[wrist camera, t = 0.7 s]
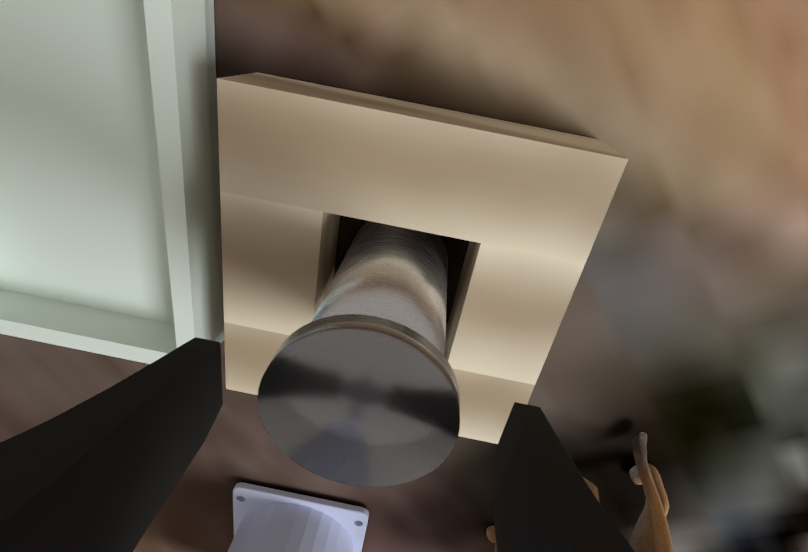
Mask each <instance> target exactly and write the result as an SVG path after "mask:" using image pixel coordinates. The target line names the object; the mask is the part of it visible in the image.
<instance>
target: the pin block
mask: <svg viewBox="0 0 808 552" xmlns="http://www.w3.org/2000/svg"><path fill="white" fill-rule="evenodd" d="M217 105H218V138H219V171H220V204H221V237H222V270H223V303H224V336H225V369H226V389H230V390H235V391H240V392H245V393H250V394H255V395H258V389H259V385H260V382H261V379H262V377H263V375H264V373H265V371H266V369H267V367H268V366H269V364H270V362H271V361H272V359H273V357H274V355H275V354H276V352H277V350H278V349H279V347H280V346H281V345H282V343H283V342H284V341H285V340H286V339H287V338H288V337H289V336H290V335H291V334H292V333H293V332H295V331H296V330H298V329H299V328H300V327H302V326H304V325H306V324H308V323H310V322H311V321H312V319H313V317H314V315H315V313H316V311H317V309H318V307H319V305H320V303H321V301H322V300H323V298H324V296H325V294H326V292H327V290H328V288H329V286H330V284H331V282H332V280H333V278H334V269H335V260H336V251H337V242H338V232H339V223H340V215H341V216H347V217H352V218H357V219H362V220H367V221H372V222H377V223H382V224H387V225H392V226H397V227H402V228H407V229H412V230H417V231H422V232H427V233H432V234H437V235H442V236H447V237H452V238H457V239H462V240H467V241H469V244H468V248H467V252H466V255H465V259H464V263H463V267H462V270H461V274H460V278H459V282H458V286H457V289H456V293H455V297H454V301H453V304H452V308H451V312H450V316H449V320H448V323H446V332H445V358H446V360H447V361H448V362H449V364H450V365H451V367H452V369H453V372H454V374H455V376H456V379H457V382H458V386H459V394H460V430H459V434H458V436H460V437H465V438H470V439H475V440H480V441H485V442H490V443H495V444H498V442H499V440H500V437H501V435H502V432H503V430H504V427H505V425H506V422H507V420H508V417H509V415H510V412H511V410H512V407H513V405H514V402H517V403H522V404H526V405H527V403H528V401H529V398H530V396H531V393H532V391H533V389H534V386H535V384H536V381H537V379H538V377H539V374H540V372H541V369H542V367H543V364H544V362H545V360H546V357H547V355H548V352H549V350H550V348H551V345H552V343H553V340H554V338H555V335H556V333H557V331H558V328H559V326H560V323H561V321H562V318H563V316H564V314H565V311H566V309H567V306H568V304H569V302H570V299H571V297H572V294H573V292H574V289H575V287H576V285H577V282H578V280H579V277H580V275H581V273H582V270H583V268H584V265H585V263H586V260H587V258H588V256H589V253H590V251H591V248H592V246H593V244H594V241H595V239H596V236H597V234H598V231H599V229H600V227H601V224H602V222H603V219H604V217H605V214H606V212H607V210H608V207H609V205H610V202H611V200H612V198H613V195H614V193H615V190H616V188H617V185H618V183H619V181H620V178H621V176H622V173H623V171H624V169H625V166H626V164H627V161H628V159H627V158H626V157H624V156H623V155H621V154H620V153H618V152H617V151H615V150H614V149H612V148H611V147H609V146H608V145H606V144H605V143H603V142H602V141H600V140H599V139H595V138H590V137H585V136H580V135H574V134H569V133H564V132H559V131H554V130H549V129H544V128H539V127H534V126H529V125H524V124H518V123H513V122H508V121H503V120H498V119H493V118H488V117H483V116H478V115H473V114H468V113H462V112H457V111H452V110H447V109H442V108H437V107H432V106H427V105H422V104H417V103H412V102H406V101H401V100H396V99H391V98H386V97H381V96H376V95H371V94H366V93H361V92H356V91H350V90H345V89H340V88H335V87H330V86H325V85H320V84H315V83H310V82H305V81H300V80H294V79H289V78H284V77H279V76H274V75H269V74H264V73H259V72H256V73H249V74H243V75H236V76H229V77H222V78H217Z"/></svg>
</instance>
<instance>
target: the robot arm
mask: <svg viewBox="0 0 808 552" xmlns="http://www.w3.org/2000/svg"><path fill="white" fill-rule="evenodd" d="M222 404H223V402H222V376H221V350H220V342H217V341H212V340H207V339H202V338H197V337H195V338H193V339H192V340H190V341H188V342H186V343H185V344H183V345H181V346H180V347H178V348H176V349H175V350H173V351H171V352H170V353H168V354H166V355H165V356H163V357H161V358H160V359H158V360H156V361H155V362H153V363H151V364H150V365H148V366H146V367H145V368H143V369H141V370H140V371H138V372H136V373H134V374H133V375H131V376H129V377H128V378H126V379H124V380H122V381H121V382H119V383H117V384H116V385H114V386H112V387H110V388H109V389H107V390H105V391H103V392H101V393H99V394H97V395H96V396H94V397H92V398H90V399H88V400H86V401H84V402H83V403H81V404H79V405H77V406H75V407H73V408H71V409H69V410H68V411H66V412H64V413H62V414H60V415H58V416H56V417H54V418H52V419H50V420H48V421H46V422H44V423H42V424H40V425H38V426H36V427H34V428H32V429H30V430H28V431H25V432H23V433H21V434H19V435H17V436H14V437H12V438H10V439H8V440H6V441H3V442H1V443H0V552H133V550H134V549H135V547H136V545H137V544H138V542H139V541H140V539H141V537H142V536H143V534H144V532H145V531H146V529H147V528H148V526H149V525H150V523H151V522H152V520H153V519H154V517H155V516H156V514H157V513H158V511H159V510H160V508H161V507H162V505H163V504H164V502H165V501H166V499H167V498H168V496H169V495H170V493H171V492H172V490H173V489H174V487H175V485H176V484H177V482H178V481H179V479H180V478H181V476H182V475H183V473H184V472H185V470H186V469H187V467H188V466H189V464H190V463H191V461H192V460H193V458H194V457H195V455H196V453H197V452H198V450H199V449H200V447H201V446H202V444H203V443H204V441H205V439H206V437H207V435H208V433H209V431H210V429H211V427H212V425H213V423H214V421H215V419H216V417H217V415H218V413H219V411H220V408H221V406H222ZM492 508H493V518H494V527H495V536H496V544H497V552H635V551H634V550H633V548H632V547H631V546H630V544H629V543H628V542H627V541H626V539H625V538H624V536H623V535H622V534H621V532H620V531H619V530H618V528H617V527H616V525H615V524H614V523H613V521H612V520H611V518H610V517H609V516H608V514H607V513H606V511H605V510H604V509H603V507H602V506H601V504H600V503H599V501H598V500H597V498H596V497H595V495H594V494H593V492H592V491H591V489H590V488H589V486H588V485H587V483H586V481H585V480H584V478H583V477H582V475H581V474H580V472H579V471H578V469H577V468H576V466H575V464H574V463H573V461H572V460H571V458H570V456H569V455H568V453H567V451H566V450H565V448H564V446H563V445H562V443H561V442H560V440H559V438H558V437H557V435H556V433H555V432H554V430H553V428H552V427H551V425H550V423H549V422H548V420H547V418H546V417H545V415H544V413H543V412H542V410H541V409H540V407H536V406H531V405H526V404H522V403H517V402H514V405H513V407H512V410H511V412H510V415H509V417H508V420H507V422H506V425H505V427H504V430H503V432H502V435H501V437H500V440H499V442H498V445H497V448H496V450H495V453H494V455H493V458H492ZM368 518H369V511H368V510H367V509H366V508H363V507H360V506H355V505H350V504H345V503H340V502H335V501H331V500H326V499H321V498H316V497H311V496H306V495H301V494H297V493H292V492H287V491H282V490H277V489H272V488H267V487H263V486H258V485H253V484H248V483H242V482H240V483H237V484H236V485H235V487H234V489H233V525H234V538H233V541H232V543H231V545H230V547H229V549H228V552H361V551H362V546H363V541H364V537H365V532H366V527H367V523H368Z"/></svg>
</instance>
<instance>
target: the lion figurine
mask: <svg viewBox="0 0 808 552" xmlns="http://www.w3.org/2000/svg"><path fill="white" fill-rule="evenodd" d="M646 443H647V434H646V433H645V432H640V433H639V434H638V435H637V436H635V437H634V438H633V441H632V444H633V455H634V458H635V464H636V465H635V466H633V467H632V468H631V469H630V471H629V473H630V476H631V479H632V481H633V482H634V483H635V484H637V485H641V484H642V485H643V488H644V492H645V496H646V502H645V507H644V509H643V511H642V513H641V515H640V517H639V519H638V521H637V523H636V525H635V528H634V530H633V532H632V535H631V538H630V540H629V544H630V546H631V547H632V548H633V550H634V551H635V552H673V547H672V541H671V536H670V531H669V527H668V523H667V519H666V515H667V513H668V510H669V501H668V498H667V494H666V492H665V489H664V486H663V483H662V480H661V477H660V475H659V472H658V470H657V469H656V468H655V467H654V466H653V465H651V464H648V462H647V449H646ZM583 478H584V477H583ZM584 480H585V481H586V483H587V485H588V486H589V488H590V489H591V491H592V492H593V494H594V495H595V497H596V498H597V500H598V501H599V495H598V489H597V487H596V486H595V485H594V484H592V483H591V482H589V481H588V480H586V479H585V478H584ZM599 503H600V502H599ZM486 534H487V537H488V538H489V539H490V541H491V542H492V543H495V551H494V552H497V544H496V536H495V527H494V526H489V527H488V528H487V529H486Z"/></svg>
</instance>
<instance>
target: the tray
mask: <svg viewBox="0 0 808 552" xmlns="http://www.w3.org/2000/svg"><path fill="white" fill-rule="evenodd" d="M0 334H5V335H10V336H15V337H20V338H25V339H30V340H35V341H40V342H44V343H49V344H54V345H59V346H64V347H69V348H74V349H79V350H84V351H89V352H93V353H98V354H103V355H108V356H113V357H118V358H123V359H128V360H133V361H138V362H143V363H147V364H151V363H153V362H155V361H156V360H158V359H160V358H161V357H163V356H165V355H166V354H168V353H170V352H171V351H173V350H175V349H176V348H178V347H180V346H181V345H183V344H185V343H186V342H188V341H190V340H192V339H193V338H195V337H197V338H202V339H207V340H212V341H217V342H220V344H221V342H222V341H223V340H224V319H223V287H222V255H221V223H220V190H219V158H218V126H217V94H216V61H215V29H214V0H0Z"/></svg>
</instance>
